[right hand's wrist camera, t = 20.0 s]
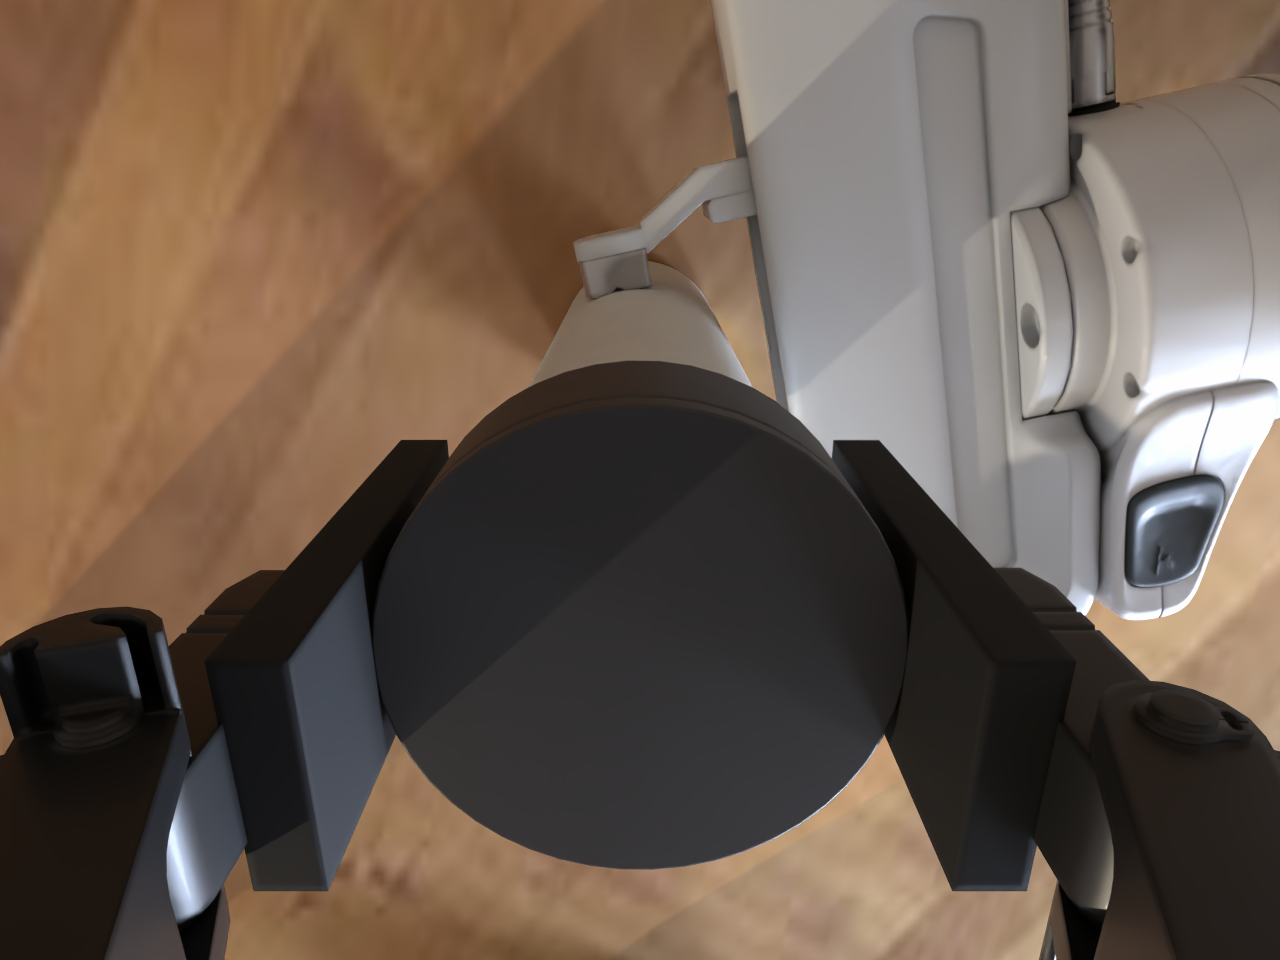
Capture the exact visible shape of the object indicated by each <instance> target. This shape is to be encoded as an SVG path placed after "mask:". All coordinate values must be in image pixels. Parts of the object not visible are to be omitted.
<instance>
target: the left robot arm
mask: <svg viewBox="0 0 1280 960" xmlns="http://www.w3.org/2000/svg"><path fill="white" fill-rule="evenodd" d="M711 7H712V13H713V19H714V25H715V32H716V38H717V44H718V50H719V56H720V62H721V68H722V74H723V80H724V86H725V92H726V98H727V104H728V110H729V116H730V122H731V128H732V134H733V140H734V146H735V153H736V158H733V159H729V160H725V161H721V162H717V163H713V164H708V165H704V166H700V167H696V168H693V169H692V170H691V171H690V172H689V173H688V174H687V175H686V176H685V177H684V178H683V179H682V180H681V181H680V182H679V183H678V184H677V185H676V186H675V187H673V188H672V189H671V190H670V191H669V192H668V193H667V194H666V195H665V196H664V197H663V198H662V199H661V200H660V201H659V202H658V203H657V204H656V205H655V206H654V207H652V208H651V209H650V210H649V211H648V212H647V213H646V214H645V215H644V216H643V217H642V218H641V219H640V224H638V225H634V226H630V227H625V228H621V229H617V230H612V231H608V232H603V233H599V234H595V235H591V236H587V237H584V238H581V239H577V240H575V241H574V242H573V245H574V249H575V254H576V258H577V262H578V266H579V270H580V274H581V278H582V282H583V286H584V290H585V294H586V297H587V298H588V299H591V298H599V297H603V296H606V295H609V294H612V292H613V291H614V290H615V289H616V288H617V287H619V288H621V289H623V290H635V289H639V288H644V287H648V286H652V281H651V274H650V269H649V264H648V258H647V253H649V252H650V251H651V250H652V249H653V248H655V247H656V246H657V245H658V244H659V243H660V242H661V241H662V240H663V239H664V238H665V237H666V236H668V235H669V234H670V233H671V232H672V231H673V230H674V229H675V228H676V227H677V226H678V225H679V224H681V223H682V222H683V221H684V220H685V219H686V218H687V217H688V216H689V215H690V214H691V213H692V212H694V211H695V210H696V209H697V208H698V207H699V206H700V205H701V204H702V207H703V213H704V216H705V217H706V218H708V219H709V220H711V221H712V222H714V223H720V222H725V221H730V220H735V219H739V218H744V217H746V219H747V225H748V231H749V237H750V243H751V249H752V255H753V261H754V267H755V274H756V280H757V286H758V292H759V298H760V304H761V310H762V316H763V322H764V328H765V334H766V340H767V346H768V352H769V358H770V364H771V370H772V376H773V382H774V388H775V395H776V401H777V403H778V404H780V405H781V406H782V407H783V408H785V409H786V410H787V411H788V412H790V413H791V414H792V415H793V416H795V417H796V418H797V419H798V420H800V421H801V422H802V424H803V425H804V426H805V427H806V428H807V429H808V430H809V431H810V432H811V433H812V434H813V435H814V436H815V437H816V438H817V439H818V440H819V442H820V443H821V444H822V446H823V447H824V449H825V450H826V451H827V453H828V454H829V456H830V457H831V458H832V450H833V440H880V441H881V443H882V444H883V445H884V446H885V447H886V448H887V449H888V450H889V452H890V453H891V454H892V455H893V456H894V457H895V458H896V459H897V461H898V462H899V463H900V464H901V465H902V466H903V467H904V468H905V470H906V471H907V472H908V473H909V474H910V475H911V476H912V477H913V478H914V480H915V481H916V482H917V483H918V484H919V485H920V486H921V487H922V489H923V490H924V491H925V492H926V493H927V494H928V495H929V496H930V498H931V499H932V500H933V501H934V502H935V503H936V504H937V505H938V507H939V508H940V509H941V510H942V511H943V512H944V513H945V514H946V516H947V517H948V518H949V519H950V520H951V521H952V522H953V523H954V524H955V526H956V527H957V528H958V529H959V530H960V531H961V532H962V533H963V535H964V536H965V537H966V538H967V539H968V540H969V541H970V542H971V544H972V545H973V546H974V547H975V548H976V549H977V550H978V551H979V553H980V554H981V555H982V556H983V557H984V558H985V559H986V560H987V562H988V563H989V564H990V565H991V566H992V567H993V568H1023V569H1024V570H1026V571H1028V572H1030V573H1032V574H1034V575H1036V576H1037V577H1039V578H1041V579H1043V580H1045V581H1047V582H1049V583H1050V584H1052V585H1054V586H1055V587H1056V588H1057V589H1058V590H1059V591H1060V592H1061V593H1062V594H1063V595H1064V596H1065V597H1067V598H1068V599H1069V600H1070V601H1071V602H1072V603H1073V604H1074V605H1075V606H1076V607H1077V609H1076V610H1077V612H1082V613H1083V614H1084V615H1086V614H1087V612H1088V611H1089V609H1090V607H1091V605H1092V603H1093V601H1094V599H1096V600H1097V601H1098V602H1100V603H1101V604H1102V605H1104V606H1105V607H1107V608H1108V609H1109V610H1111V611H1112V612H1114V613H1115V614H1117V615H1118V616H1120V617H1121V618H1124V619H1127V620H1147V619H1153V618H1158V617H1164V616H1167V615H1171V614H1173V613H1175V612H1178V611H1179V610H1181V609H1182V608H1184V607H1185V606H1186V605H1187V604H1188V603H1189V602H1190V601H1191V599H1192V598H1193V596H1194V595H1195V593H1196V591H1197V589H1198V586H1199V584H1200V582H1201V579H1202V577H1203V574H1204V571H1205V569H1206V566H1207V563H1208V561H1209V558H1210V555H1211V552H1212V550H1213V547H1214V545H1215V542H1216V540H1217V537H1218V534H1219V532H1220V529H1221V527H1222V524H1223V522H1224V520H1225V517H1226V515H1227V512H1228V510H1229V508H1230V505H1231V503H1232V501H1233V499H1234V497H1235V494H1236V492H1237V490H1238V488H1239V486H1240V483H1241V481H1242V480H1243V478H1244V476H1245V474H1246V472H1247V470H1248V468H1249V466H1250V464H1251V462H1252V460H1253V458H1254V456H1255V455H1256V453H1257V451H1258V449H1259V448H1260V446H1261V444H1262V442H1263V441H1264V439H1265V437H1266V435H1267V434H1268V432H1269V430H1270V428H1271V426H1272V424H1273V422H1274V420H1275V419H1280V74H1254V75H1247V76H1241V77H1236V78H1231V79H1227V80H1223V81H1218V82H1214V83H1210V84H1205V85H1201V86H1196V87H1192V88H1187V89H1183V90H1179V91H1174V92H1170V93H1166V94H1161V95H1157V96H1153V97H1148V98H1144V99H1139V100H1136V101H1131V102H1126V103H1122V104H1120V102H1117V103H1116V97H1115V43H1114V28H1113V22H1111V19H1112V12H1111V10H1110V9H1109V7H1110V0H711ZM1070 111H1071V112H1070ZM1068 112H1070V113H1068ZM646 252H647V253H646Z"/></svg>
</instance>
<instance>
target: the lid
mask: <svg viewBox="0 0 1280 960" xmlns="http://www.w3.org/2000/svg"><path fill="white" fill-rule="evenodd" d="M908 641H909V619H908V613H907V607H906V601H905V594H904V588H903V585H902V582H901V579H900V576H899V573H898V570H897V567H896V564H895V561H894V558H893V556H892V554H891V552H890V550H889V548H888V546H887V544H886V542H885V540H884V538H883V536H882V534H881V532H880V530H879V528H878V527H877V525H876V524H875V522H874V521H873V519H872V518H871V516H870V515H869V513H868V512H867V510H866V509H865V507H864V506H863V504H862V503H861V501H860V500H859V498H858V497H857V495H856V494H855V492H854V491H853V489H852V488H851V486H850V485H849V483H848V482H847V480H846V479H845V478H844V476H843V475H842V473H841V472H840V470H839V469H838V467H837V466H836V464H835V463H834V461H833V460H832V458H831V457H830V456H829V454H828V453H827V451H826V450H825V449H824V447H823V446H822V444H821V443H820V442H819V440H818V439H817V438H816V437H815V436H814V435H813V434H812V433H811V432H810V431H809V430H808V429H807V428H806V427H805V426H804V425H803V424H802V422H801V421H800V420H798V419H797V418H796V417H795V416H793V415H792V414H791V413H790V412H788V411H787V410H786V409H785V408H783V407H782V406H781V405H780V404H778V403H777V402H776V401H774V400H772V399H771V398H769V397H767V396H766V395H764V394H762V393H761V392H759V391H757V390H756V389H754V388H752V387H751V386H748V385H746V384H744V383H741V382H739V381H737V380H734V379H732V378H730V377H727V376H725V375H723V374H720V373H716V372H713V371H709V370H706V369H702V368H698V367H695V366H691V365H684V364H677V363H670V362H663V361H619V362H611V363H602V364H595V365H591V366H587V367H583V368H579V369H575V370H571V371H567V372H564V373H561V374H559V375H556V376H554V377H551V378H549V379H546V380H544V381H541V382H539V383H536V384H534V385H532V386H531V387H529V388H527V389H525V390H523V391H522V392H520V393H518V394H516V395H515V396H513V397H511V398H509V399H508V400H507V401H505V402H504V403H503V404H501V405H500V406H499V407H497V408H496V409H495V410H493V411H492V412H491V413H489V414H488V415H487V416H485V417H484V418H483V419H482V420H481V421H480V422H479V423H478V424H477V425H476V426H475V427H474V428H473V429H472V430H471V431H470V432H469V433H468V434H467V435H466V436H465V437H464V439H463V440H462V441H461V443H460V444H459V445H458V447H457V448H456V449H455V451H454V452H453V453H452V455H451V456H450V457H449V459H448V460H447V462H446V463H445V465H444V466H443V468H442V469H441V471H440V472H439V474H438V475H437V477H436V478H435V480H434V481H433V482H432V484H431V485H430V487H429V488H428V490H427V491H426V493H425V494H424V496H423V497H422V499H421V500H420V502H419V503H418V505H417V506H416V508H415V509H414V511H413V513H412V514H411V515H410V517H409V518H408V520H407V521H406V523H405V525H404V526H403V528H402V530H401V532H400V534H399V536H398V538H397V539H396V541H395V543H394V545H393V547H392V549H391V551H390V552H389V555H388V558H387V561H386V563H385V566H384V569H383V572H382V575H381V577H380V580H379V583H378V588H377V594H376V599H375V604H374V609H373V619H372V649H373V656H374V664H375V672H376V679H377V684H378V687H379V691H380V695H381V698H382V702H383V705H384V708H385V710H386V712H387V715H388V717H389V719H390V722H391V724H392V726H393V729H394V731H395V733H396V735H397V736H398V738H399V740H400V741H401V743H402V745H403V746H404V748H405V749H406V751H407V753H408V754H409V756H410V758H411V759H412V760H413V762H414V763H415V764H416V765H417V767H418V768H419V769H420V770H421V771H422V773H423V774H424V775H425V776H426V778H427V779H428V780H429V781H430V782H431V783H432V784H433V785H434V786H435V787H436V788H437V789H438V790H439V791H440V792H441V793H442V794H443V795H444V796H445V797H446V798H447V799H448V800H449V801H450V802H451V803H453V804H454V805H455V806H457V807H458V808H459V809H460V810H462V811H463V812H464V813H466V814H467V815H468V816H470V817H471V818H472V819H474V820H475V821H477V822H478V823H480V824H482V825H483V826H485V827H487V828H488V829H490V830H492V831H493V832H495V833H497V834H498V835H500V836H502V837H504V838H506V839H508V840H511V841H513V842H515V843H517V844H520V845H522V846H524V847H526V848H528V849H531V850H534V851H537V852H540V853H543V854H546V855H549V856H552V857H555V858H558V859H562V860H566V861H571V862H576V863H580V864H585V865H590V866H598V867H607V868H616V869H663V868H674V867H685V866H690V865H695V864H700V863H705V862H710V861H715V860H718V859H722V858H725V857H728V856H731V855H735V854H738V853H741V852H745V851H747V850H749V849H752V848H754V847H756V846H759V845H761V844H763V843H766V842H768V841H770V840H773V839H775V838H776V837H778V836H780V835H782V834H783V833H785V832H787V831H789V830H791V829H792V828H794V827H796V826H798V825H799V824H801V823H802V822H804V821H805V820H807V819H808V818H809V817H811V816H812V815H813V814H815V813H816V812H818V811H819V810H820V809H822V808H823V807H824V806H826V805H827V804H828V803H829V802H830V801H831V800H832V799H833V798H834V797H835V796H836V795H838V794H839V793H840V792H841V791H842V790H843V789H844V788H845V787H846V786H847V785H848V784H849V783H850V782H851V780H852V779H853V778H854V777H855V776H856V775H857V773H858V772H859V771H860V770H861V769H862V767H863V766H864V765H865V764H866V763H867V761H868V760H869V758H870V757H871V755H872V753H873V752H874V750H875V749H876V747H877V746H878V744H879V743H880V741H881V739H882V738H883V736H884V734H885V732H886V729H887V727H888V725H889V723H890V721H891V719H892V717H893V714H894V712H895V710H896V707H897V703H898V700H899V697H900V693H901V690H902V687H903V683H904V676H905V668H906V661H907V653H908Z"/></svg>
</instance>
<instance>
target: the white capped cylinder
mask: <svg viewBox="0 0 1280 960" xmlns="http://www.w3.org/2000/svg"><path fill="white" fill-rule="evenodd" d="M648 264H649V269H650V274H651V281H652V286H648V287H644V288H639V289H635V290H623V289H621V288H619V287H617V288H616V289H615V290H614V291H613V292H612V294H609V295H606V296H603V297H599V298H591V299H588V298H587V297H586V294H585V290H584V286H583V287H582V289H581V290H580V291H579V292H578V294H577V296H576V297H575V299H574V300H573V302H572V304H571V306H570V308H569V310H568V312H567V314H566V316H565V318H564V319H563V321H562V323H561V325H560V327H559V329H558V331H557V333H556V335H555V337H554V339H553V341H552V343H551V344H550V346H549V348H548V350H547V352H546V354H545V356H544V358H543V360H542V362H541V364H540V366H539V367H538V369H537V371H536V373H535V375H534V377H533V379H532V381H531V383H530V385H529V387H531V386H532V385H534V384H536V383H539V382H541V381H544V380H546V379H549V378H551V377H554V376H556V375H559V374H561V373H564V372H567V371H571V370H575V369H579V368H583V367H587V366H591V365H595V364H602V363H611V362H619V361H663V362H670V363H677V364H684V365H691V366H695V367H698V368H702V369H706V370H709V371H713V372H716V373H720V374H723V375H725V376H727V377H730V378H732V379H734V380H737V381H739V382H741V383H744V384H746V385H748V386H751V384H750V382H749V380H748V378H747V376H746V374H745V372H744V370H743V369H742V367H741V365H740V363H739V361H738V359H737V357H736V355H735V353H734V351H733V349H732V347H731V346H730V344H729V342H728V340H727V338H726V336H725V334H724V332H723V330H722V328H721V326H720V325H719V323H718V321H717V319H716V317H715V315H714V313H713V311H712V309H711V307H710V305H709V303H708V302H707V300H706V298H705V297H704V295H703V293H702V292H701V291H700V289H699V288H698V287H697V286H696V285H695V284H694V283H693V282H692V281H691V280H690V279H689V278H688V277H687V276H685V275H684V274H682V273H681V272H679V271H677V270H675V269H673V268H672V267H669V266H666V265H664V264H661V263H656V262H651V261H648ZM529 387H528V388H529ZM751 387H752V386H751Z"/></svg>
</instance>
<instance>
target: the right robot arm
mask: <svg viewBox="0 0 1280 960" xmlns="http://www.w3.org/2000/svg"><path fill="white" fill-rule="evenodd" d="M448 459H449V456H448V444H447V440H401V441H400V442H399V443H398V444H397V445H396V447H395V448H394V449H393V450H392V451H391V452H390V453H389V454H388V455H387V457H386V458H385V459H384V460H383V461H382V462H381V463H380V464H379V466H378V467H377V468H376V469H375V470H374V471H373V472H372V473H371V475H370V476H369V477H368V478H367V479H366V480H365V481H364V482H363V484H362V485H361V486H360V487H359V488H358V489H357V490H356V491H355V493H354V494H353V495H352V496H351V497H350V498H349V499H348V500H347V502H346V503H345V504H344V505H343V506H342V507H341V508H340V509H339V510H338V512H337V513H336V514H335V515H334V516H333V517H332V518H331V519H330V521H329V522H328V523H327V524H326V525H325V526H324V527H323V528H322V530H321V531H320V532H319V533H318V534H317V535H316V536H315V537H314V539H313V540H312V541H311V542H310V543H309V544H308V545H307V546H306V548H305V549H304V550H303V551H302V552H301V553H300V554H299V555H298V557H297V558H296V559H295V560H294V561H293V562H292V563H291V564H290V566H289V567H288V568H287V569H286V570H260V571H258V572H256V573H254V574H253V575H251V576H249V577H247V578H245V579H243V580H242V581H240V582H238V583H236V584H234V585H232V586H231V587H229V588H227V589H226V590H225V591H224V592H223V593H222V594H221V595H220V596H219V597H218V598H217V599H216V600H215V601H214V602H213V603H212V604H211V605H210V606H209V607H208V608H207V609H206V610H205V614H204V615H200V616H199V617H198V618H197V619H196V620H195V621H194V622H193V623H192V624H191V625H190V626H189V627H188V628H187V632H186V633H182V634H181V635H180V636H179V637H178V638H177V639H176V640H175V641H174V642H173V643H172V644H171V645H170V646H169V647H168V643H167V638H166V634H165V630H164V625H163V621H162V618H160V617H159V616H157V615H156V614H154V613H153V612H151V611H150V610H144V609H138V608H132V607H115V608H98V609H93V610H88V611H84V612H79V613H74V614H69V615H65V616H62V617H59V618H57V619H54V620H51V621H48V622H45V623H42V624H40V625H37V626H34V627H32V628H30V629H28V630H26V631H24V632H23V633H21V634H19V635H17V636H15V637H13V638H11V639H10V640H8V641H6V642H5V643H4V644H3V645H2V646H0V695H1V698H2V701H3V704H4V708H5V711H6V714H7V717H8V720H9V723H10V726H11V729H12V732H13V736H14V739H13V741H12V742H11V744H10V746H9V748H8V749H7V751H6V753H5V754H4V755H1V756H0V960H224V958H225V951H226V945H227V938H228V932H229V925H230V916H229V908H228V902H227V897H226V893H225V889H224V884H223V883H224V882H225V880H226V878H227V877H228V875H229V873H230V871H231V870H232V868H233V866H234V865H235V863H236V861H237V860H238V858H239V856H240V854H241V853H242V851H243V849H244V848H245V853H246V857H247V862H248V867H249V871H250V876H251V881H252V885H253V890H254V891H328V890H329V888H330V885H331V883H332V881H333V878H334V876H335V874H336V872H337V869H338V867H339V865H340V862H341V860H342V858H343V855H344V853H345V851H346V848H347V846H348V844H349V842H350V839H351V837H352V835H353V832H354V830H355V828H356V825H357V823H358V821H359V818H360V816H361V814H362V812H363V809H364V807H365V805H366V802H367V800H368V798H369V795H370V793H371V791H372V789H373V786H374V784H375V782H376V779H377V777H378V775H379V772H380V770H381V768H382V765H383V763H384V761H385V759H386V756H387V754H388V752H389V749H390V747H391V745H392V742H393V740H394V738H395V735H396V733H395V731H394V729H393V726H392V724H391V722H390V719H389V717H388V715H387V712H386V710H385V708H384V705H383V702H382V698H381V695H380V691H379V687H378V684H377V679H376V672H375V664H374V656H373V649H372V619H373V609H374V604H375V599H376V594H377V588H378V583H379V580H380V577H381V575H382V572H383V569H384V566H385V563H386V561H387V558H388V555H389V552H390V551H391V549H392V547H393V545H394V543H395V541H396V539H397V538H398V536H399V534H400V532H401V530H402V528H403V526H404V525H405V523H406V521H407V520H408V518H409V517H410V515H411V514H412V513H413V511H414V509H415V508H416V506H417V505H418V503H419V502H420V500H421V499H422V497H423V496H424V494H425V493H426V491H427V490H428V488H429V487H430V485H431V484H432V482H433V481H434V480H435V478H436V477H437V475H438V474H439V472H440V471H441V469H442V468H443V466H444V465H445V463H446V462H447V460H448ZM832 460H833V461H834V463H835V464H836V466H837V467H838V469H839V470H840V472H841V473H842V475H843V476H844V478H845V479H846V480H847V482H848V483H849V485H850V486H851V488H852V489H853V491H854V492H855V494H856V495H857V497H858V498H859V500H860V501H861V503H862V504H863V506H864V507H865V509H866V510H867V512H868V513H869V515H870V516H871V518H872V519H873V521H874V522H875V524H876V525H877V527H878V528H879V530H880V532H881V534H882V536H883V538H884V540H885V542H886V544H887V546H888V548H889V550H890V552H891V554H892V556H893V558H894V561H895V564H896V567H897V570H898V573H899V576H900V579H901V582H902V585H903V588H904V594H905V601H906V607H907V613H908V619H909V641H908V653H907V661H906V668H905V676H904V683H903V687H902V690H901V693H900V697H899V700H898V703H897V707H896V710H895V712H894V714H893V717H892V719H891V721H890V723H889V725H888V727H887V729H886V732H885V737H886V739H887V741H888V744H889V746H890V748H891V750H892V753H893V755H894V757H895V760H896V762H897V764H898V767H899V769H900V771H901V774H902V776H903V778H904V780H905V783H906V785H907V787H908V790H909V792H910V794H911V797H912V799H913V801H914V803H915V806H916V808H917V810H918V813H919V815H920V817H921V820H922V822H923V824H924V827H925V829H926V831H927V833H928V836H929V838H930V840H931V843H932V845H933V847H934V850H935V852H936V854H937V856H938V859H939V861H940V863H941V866H942V868H943V870H944V873H945V875H946V877H947V880H948V882H949V884H950V886H951V889H952V891H1027V888H1028V883H1029V879H1030V874H1031V869H1032V865H1033V860H1034V855H1035V851H1036V846H1038V847H1039V849H1040V851H1041V852H1042V854H1043V856H1044V858H1045V859H1046V861H1047V863H1048V864H1049V866H1050V868H1051V869H1052V871H1053V873H1054V875H1055V876H1056V878H1057V884H1056V889H1055V893H1054V897H1053V902H1052V906H1051V910H1050V915H1049V919H1048V923H1047V927H1046V932H1045V936H1044V940H1043V945H1042V949H1041V953H1040V958H1039V960H1280V751H1276V750H1274V749H1273V748H1272V746H1271V744H1270V743H1269V741H1268V739H1267V737H1266V736H1265V735H1264V734H1263V733H1262V732H1261V731H1260V730H1259V728H1258V727H1257V726H1256V725H1255V724H1254V723H1253V722H1252V721H1251V720H1250V719H1249V718H1248V717H1246V716H1245V715H1243V714H1242V713H1240V712H1238V711H1237V710H1235V709H1234V708H1232V707H1231V706H1229V705H1228V704H1226V703H1224V702H1222V701H1220V700H1217V699H1215V698H1213V697H1210V696H1208V695H1206V694H1203V693H1201V692H1198V691H1196V690H1193V689H1189V688H1185V687H1181V686H1177V685H1173V684H1169V683H1165V682H1157V681H1150V680H1149V679H1148V678H1147V677H1146V676H1145V675H1144V674H1143V673H1142V672H1141V671H1140V670H1139V669H1138V668H1137V667H1136V666H1135V665H1134V664H1133V663H1132V662H1131V661H1130V660H1129V659H1128V658H1127V657H1126V656H1125V655H1124V654H1123V653H1122V652H1121V651H1120V650H1119V649H1118V648H1117V647H1116V646H1115V645H1114V644H1113V643H1112V642H1111V641H1110V640H1109V639H1108V638H1107V637H1106V636H1105V635H1104V634H1103V633H1102V632H1101V631H1100V630H1095V625H1094V624H1093V623H1092V622H1091V621H1090V620H1089V619H1088V618H1087V617H1086V616H1085V615H1084V614H1083V613H1082V612H1077V610H1076V609H1077V607H1076V606H1075V605H1074V604H1073V603H1072V602H1071V601H1070V600H1069V599H1068V598H1067V597H1065V596H1064V595H1063V594H1062V593H1061V592H1060V591H1059V590H1058V589H1057V588H1056V587H1055V586H1054V585H1052V584H1050V583H1049V582H1047V581H1045V580H1043V579H1041V578H1039V577H1037V576H1036V575H1034V574H1032V573H1030V572H1028V571H1026V570H1024V569H1023V568H993V567H992V566H991V565H990V564H989V563H988V562H987V560H986V559H985V558H984V557H983V556H982V555H981V554H980V553H979V551H978V550H977V549H976V548H975V547H974V546H973V545H972V544H971V542H970V541H969V540H968V539H967V538H966V537H965V536H964V535H963V533H962V532H961V531H960V530H959V529H958V528H957V527H956V526H955V524H954V523H953V522H952V521H951V520H950V519H949V518H948V517H947V516H946V514H945V513H944V512H943V511H942V510H941V509H940V508H939V507H938V505H937V504H936V503H935V502H934V501H933V500H932V499H931V498H930V496H929V495H928V494H927V493H926V492H925V491H924V490H923V489H922V487H921V486H920V485H919V484H918V483H917V482H916V481H915V480H914V478H913V477H912V476H911V475H910V474H909V473H908V472H907V471H906V470H905V468H904V467H903V466H902V465H901V464H900V463H899V462H898V461H897V459H896V458H895V457H894V456H893V455H892V454H891V453H890V452H889V450H888V449H887V448H886V447H885V446H884V445H883V444H882V443H881V441H880V440H833V450H832Z"/></svg>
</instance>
